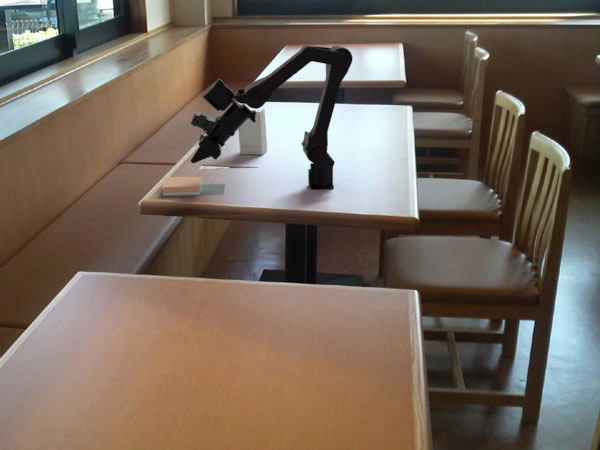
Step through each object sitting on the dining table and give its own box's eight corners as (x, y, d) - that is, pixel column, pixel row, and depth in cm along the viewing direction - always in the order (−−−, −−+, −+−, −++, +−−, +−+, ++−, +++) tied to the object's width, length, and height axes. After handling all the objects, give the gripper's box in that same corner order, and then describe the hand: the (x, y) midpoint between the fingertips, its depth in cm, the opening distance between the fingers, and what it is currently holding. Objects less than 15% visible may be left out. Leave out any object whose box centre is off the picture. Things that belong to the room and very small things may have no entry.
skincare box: (267, 151, 227) (266, 107, 222) (262, 155, 222) (261, 111, 216) (244, 149, 229) (242, 106, 224) (238, 154, 224) (236, 110, 218)
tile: (201, 176, 191) (166, 177, 191) (199, 186, 183) (162, 187, 182) (202, 184, 192) (167, 185, 192) (199, 194, 184) (163, 195, 183)
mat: (225, 185, 193) (225, 183, 192) (223, 196, 184) (223, 194, 184) (178, 187, 192) (177, 185, 192) (174, 197, 184) (174, 195, 183)
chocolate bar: (252, 175, 200) (194, 173, 203) (252, 178, 200) (194, 176, 203) (258, 167, 208) (202, 164, 211) (258, 170, 209) (203, 167, 211)
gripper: (210, 95, 188) (173, 134, 191) (204, 108, 170) (164, 151, 174) (239, 122, 191) (202, 160, 194) (237, 138, 174) (197, 179, 177)
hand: (191, 162), depth 185 cm, fingers closed
